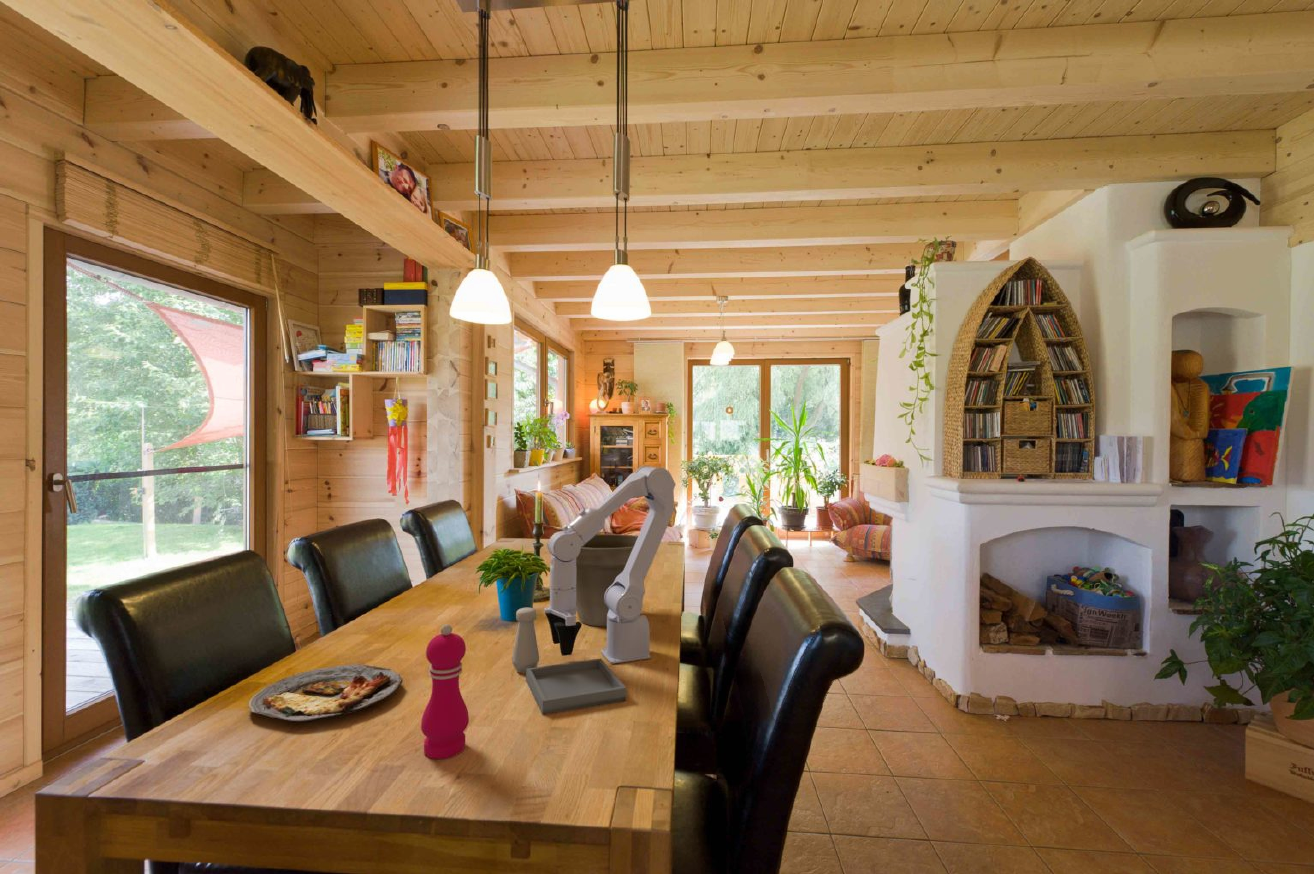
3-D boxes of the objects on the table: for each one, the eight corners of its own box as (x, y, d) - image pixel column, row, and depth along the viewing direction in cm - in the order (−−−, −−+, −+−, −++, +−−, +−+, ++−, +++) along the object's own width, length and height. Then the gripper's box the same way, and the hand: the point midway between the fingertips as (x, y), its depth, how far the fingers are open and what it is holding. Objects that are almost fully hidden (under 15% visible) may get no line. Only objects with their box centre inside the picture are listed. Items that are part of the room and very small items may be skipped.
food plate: (426, 684, 121) (426, 666, 121) (329, 740, 99) (328, 719, 99) (330, 669, 129) (330, 653, 129) (221, 719, 107) (220, 699, 107)
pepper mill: (428, 738, 100) (429, 617, 100) (472, 737, 101) (474, 617, 100) (414, 761, 93) (416, 632, 93) (462, 760, 93) (464, 631, 93)
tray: (600, 669, 130) (601, 658, 130) (626, 700, 115) (626, 687, 115) (525, 680, 123) (526, 668, 123) (542, 714, 109) (542, 700, 109)
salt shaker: (532, 676, 126) (533, 613, 126) (507, 673, 127) (507, 611, 127) (543, 665, 132) (544, 606, 132) (518, 663, 133) (519, 604, 133)
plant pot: (569, 604, 179) (570, 531, 179) (652, 606, 178) (653, 533, 178) (551, 632, 154) (552, 547, 154) (647, 634, 153) (649, 549, 153)
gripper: (538, 580, 138) (537, 640, 138) (552, 597, 124) (551, 662, 124) (568, 578, 140) (567, 636, 140) (585, 594, 127) (584, 658, 127)
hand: (562, 648), depth 132 cm, fingers open, 7 cm apart
